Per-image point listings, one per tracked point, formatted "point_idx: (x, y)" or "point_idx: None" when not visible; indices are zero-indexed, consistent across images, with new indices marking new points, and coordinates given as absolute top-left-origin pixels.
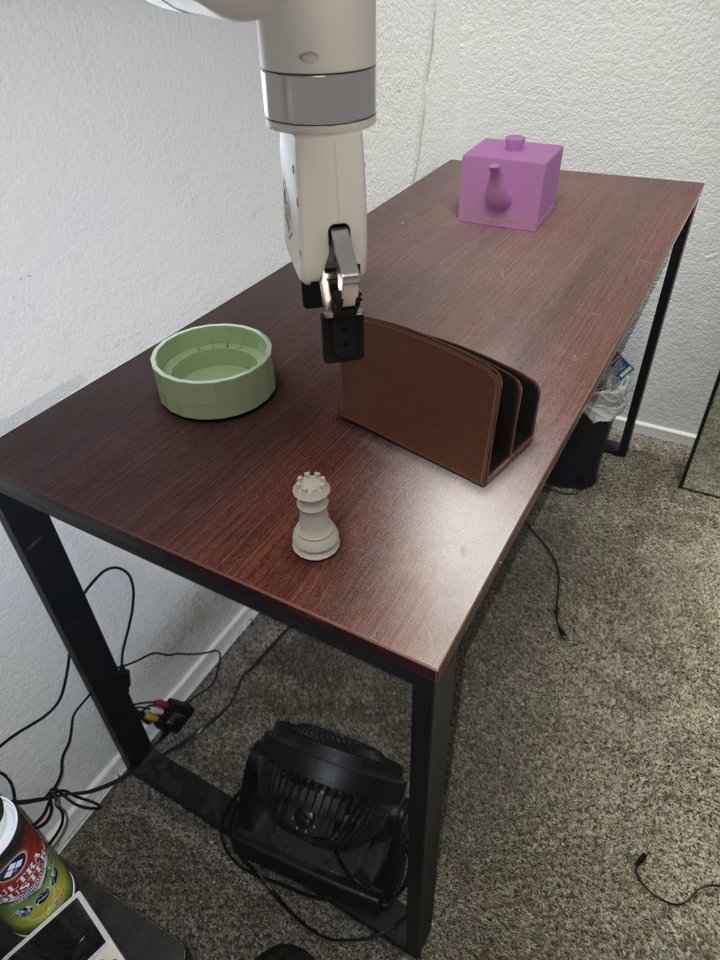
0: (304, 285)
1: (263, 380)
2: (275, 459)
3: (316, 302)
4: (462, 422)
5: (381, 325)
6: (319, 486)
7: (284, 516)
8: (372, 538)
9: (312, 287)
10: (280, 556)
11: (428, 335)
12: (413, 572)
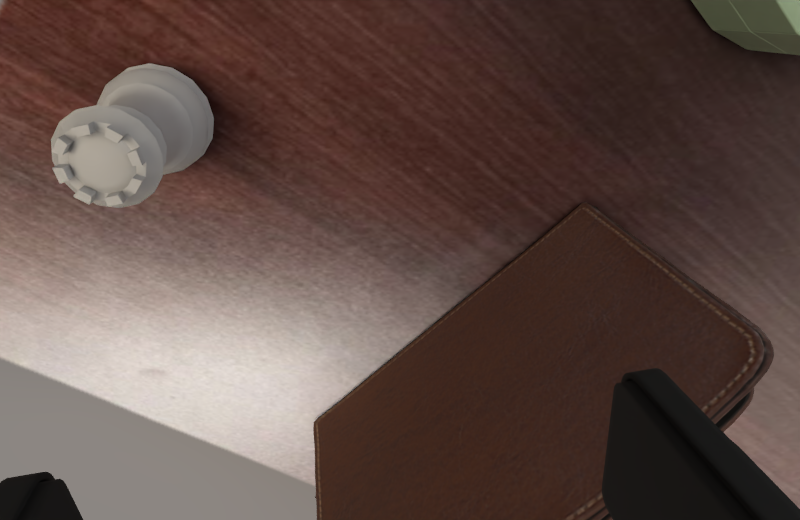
0: (696, 480)
1: (751, 24)
2: (473, 35)
3: (625, 440)
4: (368, 477)
5: None
6: (89, 186)
7: (263, 48)
8: (187, 230)
9: (678, 499)
10: (127, 31)
11: None
12: (94, 291)
